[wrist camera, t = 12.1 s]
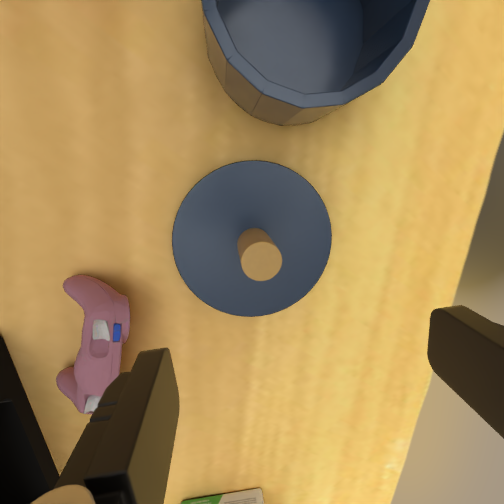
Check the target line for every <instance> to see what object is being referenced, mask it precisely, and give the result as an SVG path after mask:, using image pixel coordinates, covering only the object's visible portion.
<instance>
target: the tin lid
mask: <svg viewBox="0 0 504 504" xmlns="http://www.w3.org/2000/svg"><path fill="white" fill-rule="evenodd" d="M331 237H332V233H331V224H330V219H329V215H328V212H327V210H326V207H325V205H324V203H323V201H322V199H321V197H320V196H319V194H318V193H317V191H316V190H315V189H314V187H313V186H312V185H311V184H310V183H309V182H308V181H307V180H305V179H304V178H303V177H302V176H300V175H299V174H298V173H296V172H294V171H292V170H291V169H289V168H287V167H284V166H282V165H279V164H275V163H271V162H267V161H257V160H255V161H242V162H236V163H232V164H229V165H226V166H223V167H221V168H219V169H217V170H215V171H213V172H211V173H210V174H208V175H207V176H205V177H204V178H202V179H201V180H200V181H199V182H198V183H197V184H196V185H195V186H194V187H193V188H192V189H191V190H190V191H189V193H188V194H187V196H186V197H185V199H184V200H183V202H182V203H181V206H180V208H179V210H178V212H177V215H176V218H175V222H174V226H173V233H172V247H173V255H174V259H175V263H176V266H177V268H178V271H179V273H180V275H181V277H182V278H183V280H184V282H185V283H186V285H187V286H188V287H189V289H190V290H191V291H192V292H193V293H194V294H195V295H196V296H197V297H198V298H199V299H201V300H202V301H203V302H205V303H206V304H208V305H209V306H211V307H213V308H215V309H217V310H219V311H222V312H225V313H228V314H232V315H237V316H248V317H253V316H263V315H268V314H272V313H275V312H278V311H281V310H283V309H285V308H287V307H289V306H291V305H293V304H294V303H296V302H297V301H299V300H300V299H301V298H303V297H304V296H305V295H306V294H307V293H308V292H309V291H310V290H311V289H312V288H313V286H314V285H315V284H316V283H317V281H318V280H319V278H320V276H321V275H322V273H323V271H324V269H325V266H326V264H327V261H328V258H329V255H330V249H331Z"/></svg>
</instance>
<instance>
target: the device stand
mask: <svg viewBox="0 0 504 504" xmlns="http://www.w3.org/2000/svg"><path fill="white" fill-rule="evenodd" d="M58 479H59V475H58V472H57V470H56V467H55V465H54V463H53V460H52V458H51V455H50V453H49V450H48V448H47V445H46V443H45V441H44V438H43V436H42V433H41V431H40V428H39V426H38V423H37V421H36V419H35V416H34V414H33V411H32V409H31V406H30V404H29V401H28V399H27V396H26V394H25V392H24V389H23V387H22V384H21V382H20V379H19V377H18V374H17V372H16V370H15V367H14V365H13V362H12V360H11V357H10V355H9V352H8V350H7V347H6V345H5V343H4V340H3V338H2V337H1V336H0V504H31V503H32V502H33V501H35V500H36V499H37V498H39V497H41V496H42V495H44V494H45V493H47V492H49V491H51V490H53V488H54V487H55V485H56V483H57V481H58Z"/></svg>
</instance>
